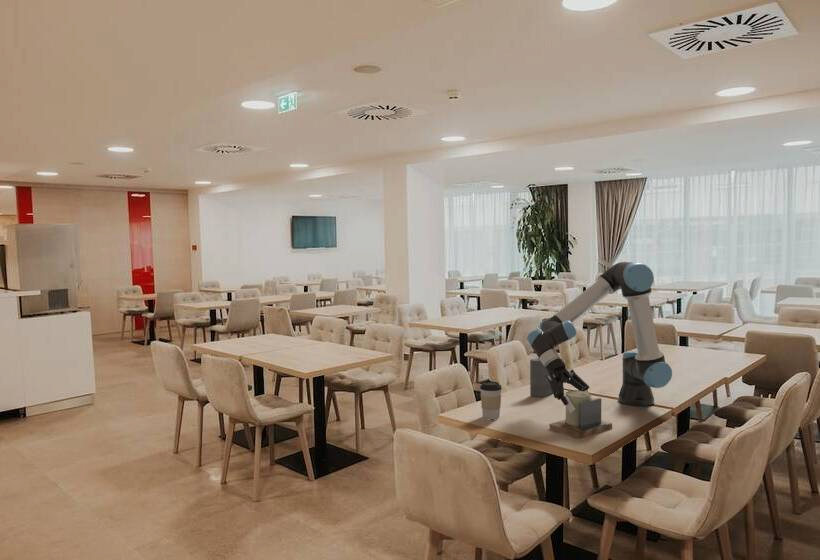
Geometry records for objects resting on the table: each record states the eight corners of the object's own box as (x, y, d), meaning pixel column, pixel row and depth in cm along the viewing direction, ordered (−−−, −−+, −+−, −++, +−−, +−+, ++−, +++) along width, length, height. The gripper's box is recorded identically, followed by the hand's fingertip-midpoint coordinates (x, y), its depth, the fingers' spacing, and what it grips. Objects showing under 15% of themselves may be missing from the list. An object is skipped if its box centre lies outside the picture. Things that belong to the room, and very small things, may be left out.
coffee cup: (505, 419, 240) (505, 383, 239) (485, 421, 237) (485, 385, 236) (496, 413, 248) (496, 378, 247) (476, 415, 246) (476, 380, 245)
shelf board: (583, 419, 237) (583, 414, 237) (612, 428, 226) (612, 423, 226) (549, 428, 226) (549, 423, 226) (578, 438, 215) (578, 433, 215)
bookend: (599, 423, 226) (599, 398, 225) (605, 425, 224) (605, 399, 223) (578, 429, 219) (578, 403, 219) (585, 431, 217) (585, 405, 216)
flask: (538, 398, 270) (537, 356, 269) (528, 396, 274) (527, 354, 273) (557, 393, 280) (557, 352, 278) (547, 390, 284) (547, 350, 283)
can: (583, 427, 221) (583, 397, 220) (561, 422, 227) (561, 393, 226) (593, 421, 228) (593, 391, 227) (572, 416, 234) (572, 387, 233)
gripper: (567, 364, 245) (597, 408, 233) (527, 372, 232) (557, 419, 220) (577, 353, 241) (608, 398, 229) (537, 361, 227) (568, 408, 216)
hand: (583, 408), depth 225 cm, fingers open, 11 cm apart
